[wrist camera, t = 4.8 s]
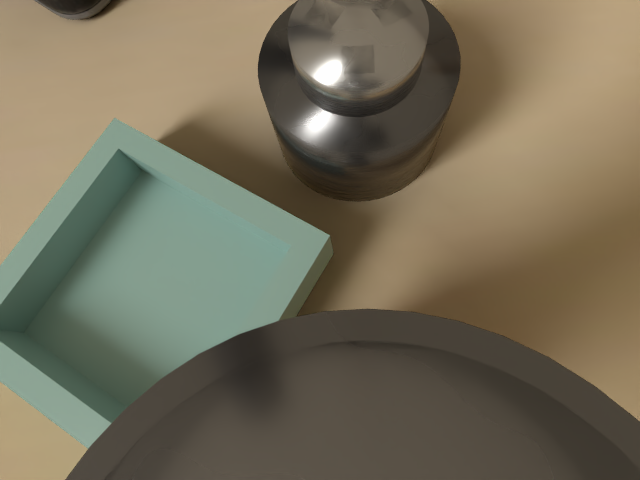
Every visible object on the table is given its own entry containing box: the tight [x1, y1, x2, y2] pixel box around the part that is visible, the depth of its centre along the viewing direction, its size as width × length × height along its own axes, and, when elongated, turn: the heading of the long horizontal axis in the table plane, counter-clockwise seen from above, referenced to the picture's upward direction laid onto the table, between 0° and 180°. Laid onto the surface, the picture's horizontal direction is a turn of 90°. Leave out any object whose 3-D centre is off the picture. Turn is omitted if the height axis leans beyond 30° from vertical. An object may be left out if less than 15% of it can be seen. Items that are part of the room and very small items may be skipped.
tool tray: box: [0, 118, 334, 449], centre depth 17 cm, size 10×10×3 cm
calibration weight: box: [258, 0, 460, 201], centre depth 17 cm, size 7×7×6 cm
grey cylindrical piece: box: [66, 309, 640, 480], centre depth 8 cm, size 5×5×12 cm
